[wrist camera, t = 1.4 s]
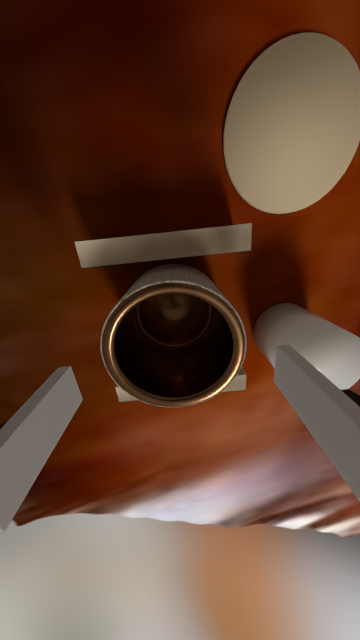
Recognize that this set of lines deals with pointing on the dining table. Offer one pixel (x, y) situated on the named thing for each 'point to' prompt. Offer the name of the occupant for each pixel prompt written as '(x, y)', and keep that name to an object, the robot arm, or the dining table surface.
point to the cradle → (167, 248)
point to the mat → (293, 123)
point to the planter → (173, 338)
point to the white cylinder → (310, 342)
